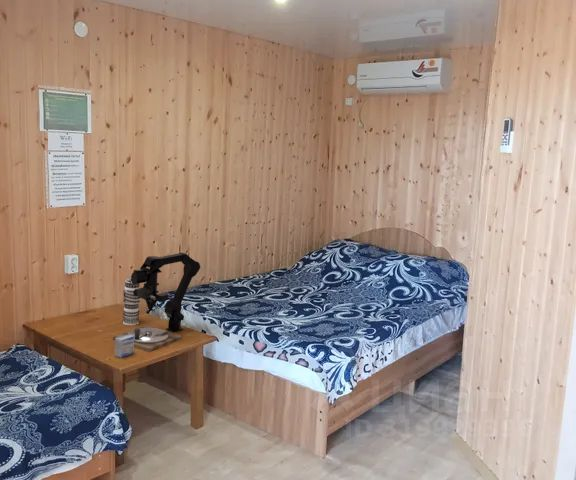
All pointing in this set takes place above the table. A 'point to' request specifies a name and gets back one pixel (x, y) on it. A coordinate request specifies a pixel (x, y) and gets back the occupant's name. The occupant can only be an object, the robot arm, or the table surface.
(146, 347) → the walnut stand
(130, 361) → the table surface
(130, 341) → the medicine box
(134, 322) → the decorative candle
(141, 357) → the table surface
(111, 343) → the table surface
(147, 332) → the dial
